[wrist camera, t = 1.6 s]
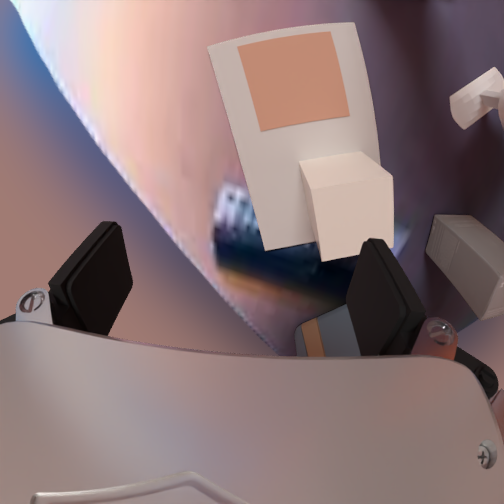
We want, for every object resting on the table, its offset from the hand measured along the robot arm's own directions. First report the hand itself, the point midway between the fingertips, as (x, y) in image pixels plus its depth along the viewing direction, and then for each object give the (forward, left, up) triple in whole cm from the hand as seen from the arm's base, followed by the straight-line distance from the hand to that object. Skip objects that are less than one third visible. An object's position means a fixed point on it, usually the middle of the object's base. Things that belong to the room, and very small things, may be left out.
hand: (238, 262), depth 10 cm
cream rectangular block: (-8, +7, -22) cm, 25 cm away
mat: (-6, +1, -23) cm, 24 cm away
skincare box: (-26, +17, -23) cm, 39 cm away
